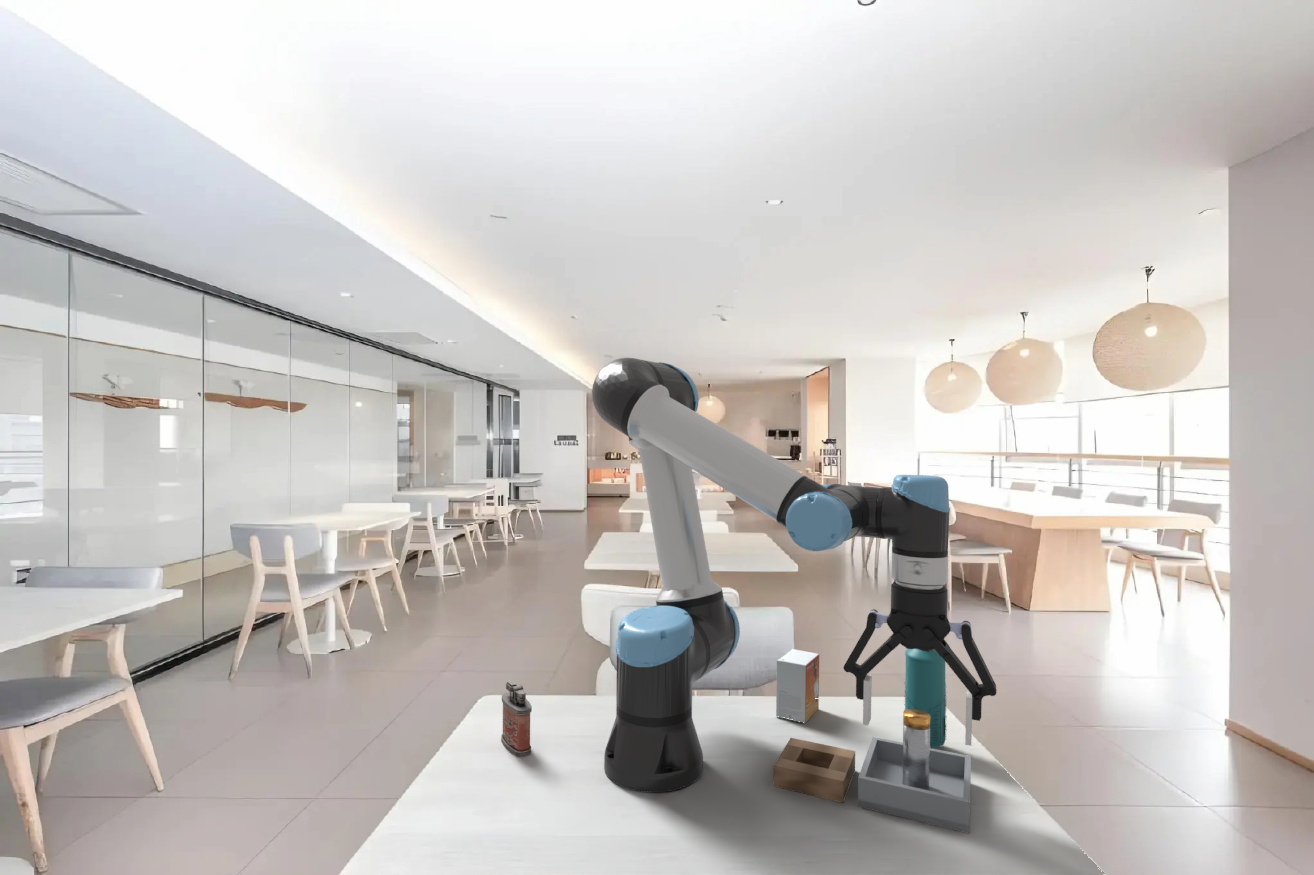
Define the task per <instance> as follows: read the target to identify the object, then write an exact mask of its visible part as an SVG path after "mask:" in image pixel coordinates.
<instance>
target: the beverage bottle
mask: <svg viewBox="0 0 1314 875" xmlns="http://www.w3.org/2000/svg"><path fill="white" fill-rule="evenodd" d="M904 652H905V653H904V655H905V672H904V673H905V678H904V680H905V681H904V691H903V692H904V700H903V704H904V709H903V712H904V711H905V710H907V709H917V710H922V711H925V712H927V713H928V714H929V715H930V748H939V747H942V746H944V745H945V742H946V740H947V738H948V737H947V731H948V730H947V711H948V710H947V701H948V700H947V687H948V686H947V682H946V661H945V660H944V659H943V658H942V657H941V656H940V655H939V654H938V653H937V651H936V650H935V649H933V650H930V651H929V652H927V651H922V650H920V649H907V648H906V650H905V651H904Z"/></svg>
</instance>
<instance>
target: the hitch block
mask: <svg viewBox="0 0 1314 875" xmlns="http://www.w3.org/2000/svg"><path fill="white" fill-rule="evenodd" d="M772 772H773V773H772V774H773V779H772V780H773V782H772V783H773V784H772V786H773V787H777V788H781V789H785V790H789V791H793V792H797V793H801V794H805V795H810V796H813V797H818V798H821V799H822V798H823V799H826V800H829V801H834V802H839V803H844V802H845V800H846V797H847V793H848V792H849V791H848V790H849V788H850V785H851V784H852V783H851V782H852V779H853V777H854V775H855V772H856V750H851V749H847V748H843V747H842V748H841V747H837V746H834V745H827V744H822V743H818V742H813V741H808V740H805V739H798V738H795V737H794V738H793V737H790V738H789V740H788V742H787V743H786V745H785V746H784V748H783V749H782V751H781V752H780V754H779V756H778V758H776V760H775V762H774V764H773V771H772Z"/></svg>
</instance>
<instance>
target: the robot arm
mask: <svg viewBox="0 0 1314 875" xmlns="http://www.w3.org/2000/svg"><path fill="white" fill-rule="evenodd" d="M698 393H699V392H698V389H697V386H696V383H695V382H694V380H693V379H692V378H691V377H690V375H689V374H688V373H687V372H685V371H684V370H683V369H681V368H679V367H677V366H675V365H672V364H670V363H666V362H655V361H649V360H644V359H639V358H634V357H621V358H617V359H614V360H612V361H610V362H608V363H607V364H605V365H603V367H602V368H601V369H600V370H599V372H598V373H597V375H595V378H594V382H593V384H592V387H591V396H592V397H591V398H592V403H593V407H594V409H595V411H596V412H597V414H598V416H599V417H600V418H601V419H602V420H603V421H604V422H606V423H607V424H608V425H609V426H611V427H612V428H614V429H616V430H617V431H619V432H620V433H621V434H624V435H626V437H628V442H629V445H631V446H632V447H633V448H635V449H637V451H638V452H639V455H640V463H641V467H642V473H643V481H644V484H645V492H646V498H647V503H648V504H647V505H648V509H649V510H648V511H649V515H650V521H651V527H652V533H653V538H654V546H655V552H656V557H657V563H658V569H659V575H660V580H661V590H660V591H659V592H658V594H656V597H655V604H656V605H651V606H649V607H647V608H646V607H642V608H638V609H636V610H633V611H631V612H629V613H627V614H626V615H625V616H624V617H623V618H622V619H621V620H620V622H619V625H618V628H617V637H616V642H615V651H616V652H615V653H616V698H615V699H616V705H615V706H616V712H615V714H616V715H615V720H614V723H613V725H612V728H611V731H610V734H609V738H608V740H607V743H606V747H605V749H604V758H603V759H604V764H603V766H604V767H603V769H604V772H605V774H606V776H607V777H608V778H609V779H610V780H611V781H612V782H614V783H615V784H617V785H619V786H621V787H623V788H626V789H629V790H632V791H637V792H643V793H644V792H645V793H663V792H664V793H665V792H672V791H676V790H680V789H684V788H685V787H688V786H689V785H692V784H693V783H695V782H696V781H697V780H698V779H699V778H700V777H701V775H702V773H703V770H704V766H703V765H704V754H703V749H702V747H701V743H700V740H699V736H698V733H697V730H696V727H695V722H694V721H693V683H695V682H696V681H698V680H700V679H701V678H702V677H704V676H706V675H708V674H709V673H710V672H712V671H713V670H715V669H718V668H720V667H721V666H722V665H724V663H726V662H727V660H728V659H729V658H730V657H731V656H732V655H733V653H734V652H735V650H736V649H737V646H738V644H739V640H740V635H741V634H740V632H741V631H740V629H741V628H740V622H739V618H738V615H737V613H736V611H735V609H734V608H733V607H732V606H730V605H729V604H728V602H727V601H726V600H725V598H724V593H723V588H722V586H721V585H720V584H718V583H717V582H716V581H714V580H713V579H712V576H711V575H712V574H711V570H710V564H709V558H708V553H707V552H708V551H707V547H706V542H705V535H704V530H703V524H702V519H701V513H700V506H699V500H698V496H697V491H696V486H695V485H696V484H695V480H694V474H693V470H694V471H695V472H697V473H698V474H700V475H701V476H703V477H705V478H706V479H708V480H709V481H711V482H712V483H714V484H716V485H717V486H719V487H721V488H722V489H724V490H725V491H727V492H729V493H730V494H732V495H733V496H735V497H736V498H738V499H740V500H741V501H743V502H745V503H746V504H747V505H749V506H751V507H752V508H754V509H755V510H756V511H757V510H758V511H759V512H761V513H762V514H764V515H765V516H766V517H769V518H770V519H772V520H773V521H775V522H776V523H778V524H780V525H782V526H783V527H784V528H785V529H786V532H788V534H789V537H790V538H791V539H792V541H793V542H794V543H795V544H796V545H797V546H799V547H800V548H802V549H804V550H807V551H808V552H809V551H811V552H822V551H828V550H833V549H835V548H837V547H839V546H841V545H842V544H843V543H844V542H846V541H849V540H850V539H853V538H856V537H859V538H870V539H871V538H873V539H874V538H875V539H881V540H882V539H883V540H890V541H891V546H892V547H891V574H890V575H891V576H890V577H891V579H892V580H894V581H893V582H892V583H891V585H890V611H889V614H886V613H882V612H878V610H877V609H875V608H873V609H871V610H870V611H869V613H868V614H867V618H866V625H865V628H864V630H863V632H862V634H861V635H860V637H859V639H858V641H857V643H856V644H855V646H854V647H853V649H852V651H851V653H850V655H849V656H848V658H847V660H846V661H845V663H844V665H843V670H844V672H846V673H850V674H852V675H853V676H855V696H856V698H857V699H856V700H861V701H862V704H863V705H862V726H863V725H864V726H869V724H870V722H871V720H872V687H873V686H872V685H873V684H872V682H873V681H872V680H873V679H872V676H873V675H872V674H869V673H870V672H872V670H873V669H874V668H875V667H876V666H878V664H879V663H881V662H882V661H883V660H884V659H885V658H886V657H887V656H888V655H889V654H890V653H892V651H894V650H895V649H896V648H897V647H898V646H899V645H901V646H902V647H905V649H906V650H907V649H920V650H922V651H927V652H929V651H930V650H933V649H935V650H936V651H937V653H938V654H939V655H940V656H941V657H942V658H943V659H944V660H945V664H947V665H948V667H949V668H950V669H951V670H952V672H953V673H954V674H955V675H956V676H957V678H958V679H959V681H960V682H961V683H962V684H963V685H964V687H965V688H966V689H967V690H966V692H965V693H966V696H965V697H966V698H965V733H964V734H965V736H964V737H965V738H964V739H965V740H964V741H965V742H964V743H965V746H970V747H972V731H973V730H972V728H973V724H972V723H973V721H978V722H980V721H981V719H982V700H983V698H984V697H987V696H991V697H995V696H996V695H997V691H998V690H997V684H996V682H995V680H994V678H993V676H992V674H991V672H990V671H989V669H988V666H987V665H986V662H985V660H984V658H983V656H982V654H981V652H980V650H979V648H978V645H977V644H976V642H975V639H974V637H973V632H972V624H971V622H970V621H969V620H963V621H962V622H950V621H949V619H948V589H947V588H946V586H945V585H946V584H948V581H949V580H948V579H949V574H948V573H949V537H950V536H949V534H950V533H949V531H950V512H951V509H950V508H951V507H950V503H949V502H950V498H949V495H950V494H949V493H950V492H949V484H948V482H947V480H946V479H945V478H944V477H942V476H938V475H927V474H899V475H898V474H897V475H896V476H894V477H893V481H892V482H893V483H891V486H890V487H889V486H888V487H874V486H861V485H846V484H839V483H832V484H831V483H829V484H821V483H819V482H817V481H815V480H813V479H812V478H809V477H808V476H806V475H805V474H804V473H801V472H800V471H798V470H797V469H795V468H793V467H792V466H789V465H788V464H786V463H785V462H783V461H781V460H779V459H778V458H776V457H774V456H772V455H770V454H769V453H767V452H765V451H763V450H762V449H760V448H759V447H757V446H755V445H753V444H751V443H750V442H748V441H746V440H744V439H743V438H741V437H739V436H738V435H736V434H734V433H733V432H731V431H729V430H728V429H726V428H724V427H722V426H720V425H719V424H717V423H715V422H714V421H712V420H710V419H709V418H707V417H705V416H704V415H701V414H699V413H698V412H697V411H698V408H699V402H700V401H699V394H698ZM883 624H887V626H888V627H889V629H890V631H891V632H892V634H891V635H890V636H888V638H887V639H886V640H885V641H884V643H882V644H881V645H880V646H879V647H878V648H877V649H876V650H875V651H873V653H872V654H871V655H870V656H869V657H868V658H866V660H864V662H863V663H861V664H859V663H857V661H858V660H859V658H860V657H861V655H862V653H863V651H864V650H865V648H866V647H867V645H868V643H869V641H870V640H871V637H872V636H873V634H874V632H875V630H876V629H880V628H881V627H882V625H883ZM950 632H952V633H954V634H955V637H956V638H957V639H958V640H962V643H963V644H962V645H963V647H964V649H965V651H966V653H967V655H968V657H969V659H970V661H971V663H972V666H973V667H974V669H975V671H976V673H977V676H978V677H979V680H980V681H981V683H979V682H978V681H977V679H976V678H975V677H974V676H973V675H972V673H971V672H970V671H969V669H968V668H967V666H965V665H964V663H963V662H962V661H961V660H960V658H959V657H958V656H957V655H956V653H955V652H954V651H953V649H952V648H951V647H950V645H949V644H948V642H947V640H945V638H946V637H948V635H949V634H950Z"/></svg>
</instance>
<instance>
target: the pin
mask: <svg viewBox="0 0 1314 875" xmlns="http://www.w3.org/2000/svg"><path fill="white" fill-rule="evenodd" d="M904 710H905V709H904ZM904 710H903V715H902V716H903V717H902V718H903V719H902V720H903V721H902V725H903V728H902V743H903V779H902V785H906V786H911V787H915V788H920V789H924V790H929V775H930V748H931V747H930V715H929V714H928V713H927V712H925V711H922V710H917V709H907V710H905V711H904Z"/></svg>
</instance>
